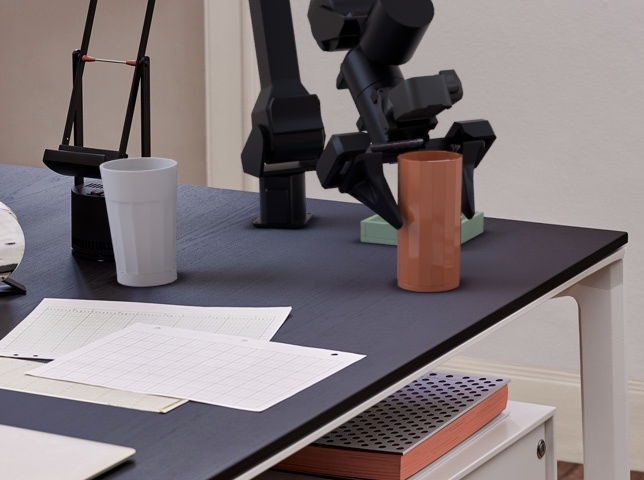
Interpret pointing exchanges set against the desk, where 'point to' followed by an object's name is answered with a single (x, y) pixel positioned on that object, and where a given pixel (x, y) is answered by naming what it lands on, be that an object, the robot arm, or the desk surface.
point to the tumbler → (429, 220)
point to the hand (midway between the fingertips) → (436, 222)
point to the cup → (142, 218)
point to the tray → (384, 233)
